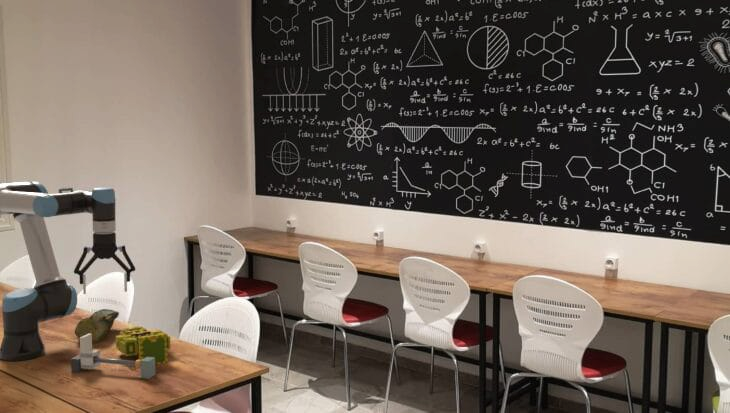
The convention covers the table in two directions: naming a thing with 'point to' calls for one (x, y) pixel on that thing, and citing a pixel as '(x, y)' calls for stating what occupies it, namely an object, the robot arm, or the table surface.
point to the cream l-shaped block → (88, 352)
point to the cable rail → (145, 364)
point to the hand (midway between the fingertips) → (105, 292)
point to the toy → (144, 343)
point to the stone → (97, 324)
